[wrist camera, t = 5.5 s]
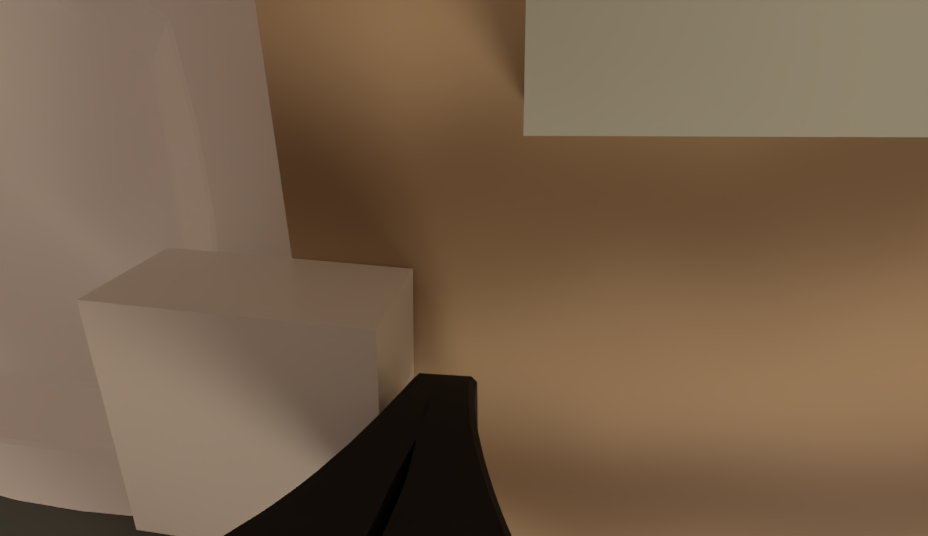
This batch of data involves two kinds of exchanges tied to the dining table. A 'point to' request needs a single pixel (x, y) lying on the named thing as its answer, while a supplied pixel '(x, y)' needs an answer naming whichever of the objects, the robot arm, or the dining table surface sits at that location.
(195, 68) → the pale beige plate
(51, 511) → the dining table surface
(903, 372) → the oak board
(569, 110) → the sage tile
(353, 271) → the white tile
